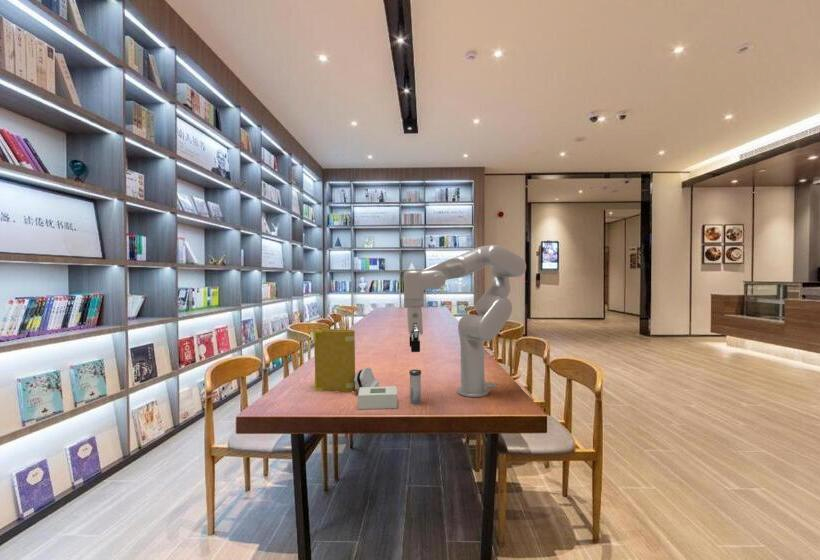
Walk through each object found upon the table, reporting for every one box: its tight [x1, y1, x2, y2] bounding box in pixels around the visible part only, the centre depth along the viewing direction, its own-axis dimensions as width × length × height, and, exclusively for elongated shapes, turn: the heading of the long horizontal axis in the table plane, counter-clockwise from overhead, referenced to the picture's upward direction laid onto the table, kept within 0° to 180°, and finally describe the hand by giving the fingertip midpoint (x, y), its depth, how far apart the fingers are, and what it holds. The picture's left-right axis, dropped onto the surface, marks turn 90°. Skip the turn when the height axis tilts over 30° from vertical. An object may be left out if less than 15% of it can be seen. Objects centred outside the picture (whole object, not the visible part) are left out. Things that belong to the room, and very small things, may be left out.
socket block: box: [357, 385, 398, 410], centre depth 141 cm, size 14×10×5 cm
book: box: [313, 328, 356, 393], centre depth 160 cm, size 17×7×25 cm, turn 71°
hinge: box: [354, 367, 380, 395], centre depth 159 cm, size 17×5×10 cm, turn 173°
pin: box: [409, 369, 422, 405], centre depth 142 cm, size 4×4×12 cm
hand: (414, 349), depth 142 cm, fingers open, 9 cm apart
